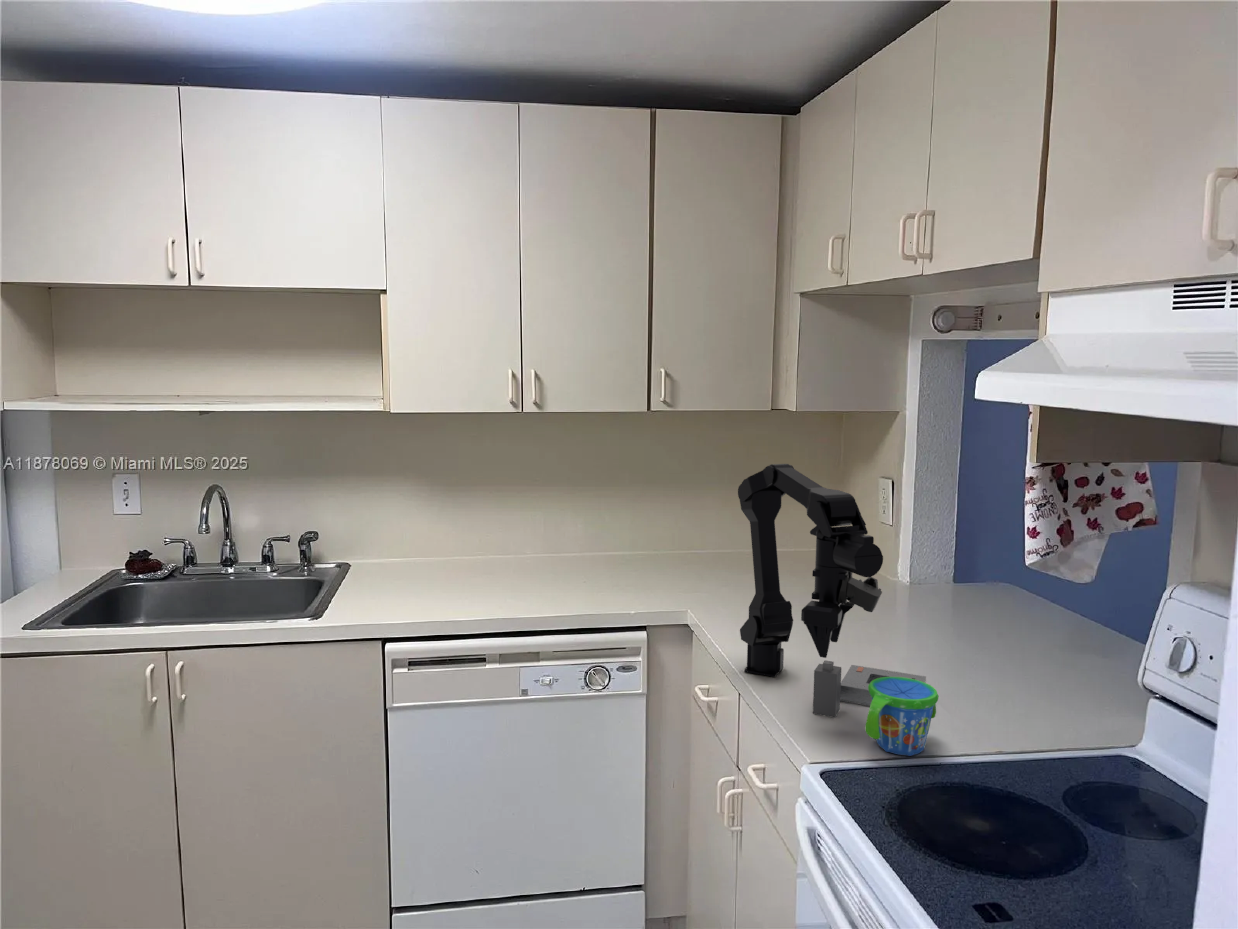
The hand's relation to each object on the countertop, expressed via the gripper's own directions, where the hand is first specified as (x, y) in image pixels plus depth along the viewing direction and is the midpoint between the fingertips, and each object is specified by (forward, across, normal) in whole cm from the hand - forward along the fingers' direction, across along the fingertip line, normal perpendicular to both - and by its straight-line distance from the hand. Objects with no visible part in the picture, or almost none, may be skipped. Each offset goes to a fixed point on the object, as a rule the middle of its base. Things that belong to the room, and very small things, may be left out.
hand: (828, 649), depth 152 cm
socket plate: (+12, +12, -8) cm, 18 cm away
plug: (+12, 0, 0) cm, 12 cm away
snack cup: (+12, -9, -14) cm, 20 cm away
